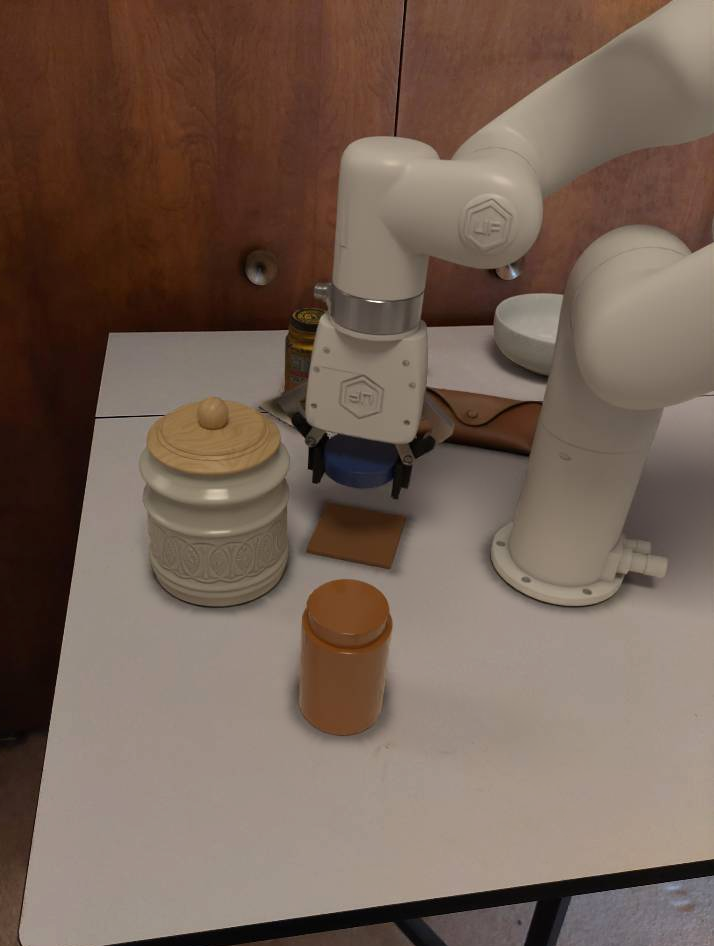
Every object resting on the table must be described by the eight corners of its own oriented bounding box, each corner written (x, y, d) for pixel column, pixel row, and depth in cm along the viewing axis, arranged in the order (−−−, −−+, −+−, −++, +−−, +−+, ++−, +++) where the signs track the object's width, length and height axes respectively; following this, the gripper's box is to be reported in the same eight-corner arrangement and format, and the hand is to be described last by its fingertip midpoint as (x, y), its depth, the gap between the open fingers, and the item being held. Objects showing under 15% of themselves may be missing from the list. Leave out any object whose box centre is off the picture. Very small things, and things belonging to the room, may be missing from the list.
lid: (321, 487, 73) (323, 471, 72) (321, 444, 78) (322, 429, 77) (399, 490, 73) (402, 474, 72) (393, 447, 79) (395, 431, 77)
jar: (160, 621, 70) (140, 449, 59) (144, 532, 80) (124, 371, 69) (303, 597, 73) (309, 429, 62) (270, 515, 83) (271, 357, 72)
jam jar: (379, 672, 66) (391, 576, 60) (384, 736, 61) (398, 639, 55) (299, 670, 66) (303, 573, 60) (298, 734, 61) (301, 637, 55)
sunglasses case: (392, 435, 95) (400, 378, 94) (395, 436, 102) (404, 383, 101) (546, 457, 93) (556, 399, 92) (539, 456, 99) (549, 402, 98)
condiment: (346, 407, 101) (352, 317, 94) (297, 430, 97) (299, 336, 89) (306, 386, 105) (309, 298, 98) (257, 407, 101) (256, 316, 93)
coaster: (405, 519, 83) (406, 516, 83) (390, 569, 77) (390, 566, 76) (327, 504, 85) (327, 501, 84) (306, 552, 78) (306, 549, 78)
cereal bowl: (466, 344, 117) (474, 297, 112) (566, 333, 121) (577, 287, 117) (525, 399, 104) (536, 348, 100) (633, 384, 108) (649, 335, 104)
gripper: (261, 306, 65) (259, 487, 76) (476, 340, 61) (442, 524, 73) (288, 275, 70) (282, 448, 81) (486, 304, 67) (452, 480, 78)
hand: (357, 482), depth 77 cm, fingers closed on lid, 7 cm apart
